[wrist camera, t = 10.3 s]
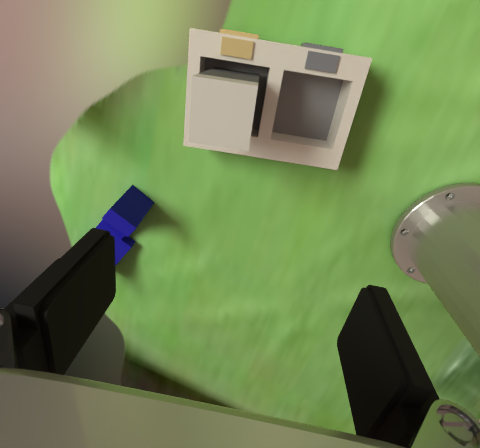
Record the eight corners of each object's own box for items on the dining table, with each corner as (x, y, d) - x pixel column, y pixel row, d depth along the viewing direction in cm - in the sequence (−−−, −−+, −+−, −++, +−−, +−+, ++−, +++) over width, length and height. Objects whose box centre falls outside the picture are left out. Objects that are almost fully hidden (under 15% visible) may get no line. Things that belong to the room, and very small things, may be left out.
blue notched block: (110, 267, 41) (87, 299, 35) (80, 246, 39) (52, 277, 34) (165, 210, 36) (148, 237, 31) (133, 184, 35) (110, 208, 29)
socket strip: (359, 53, 27) (374, 53, 23) (329, 156, 32) (337, 170, 28) (199, 26, 27) (189, 22, 23) (192, 134, 31) (182, 146, 28)
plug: (259, 74, 27) (258, 85, 19) (252, 120, 29) (248, 151, 21) (214, 67, 27) (191, 75, 19) (210, 114, 29) (188, 142, 21)
